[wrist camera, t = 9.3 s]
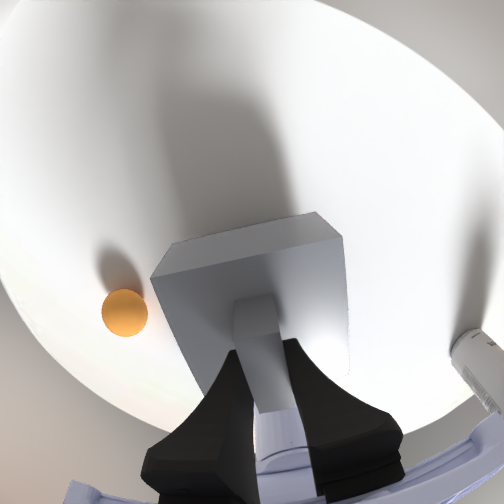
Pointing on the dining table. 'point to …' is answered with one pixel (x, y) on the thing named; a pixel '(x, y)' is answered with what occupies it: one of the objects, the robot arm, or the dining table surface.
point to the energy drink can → (481, 368)
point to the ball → (124, 312)
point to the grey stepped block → (258, 302)
